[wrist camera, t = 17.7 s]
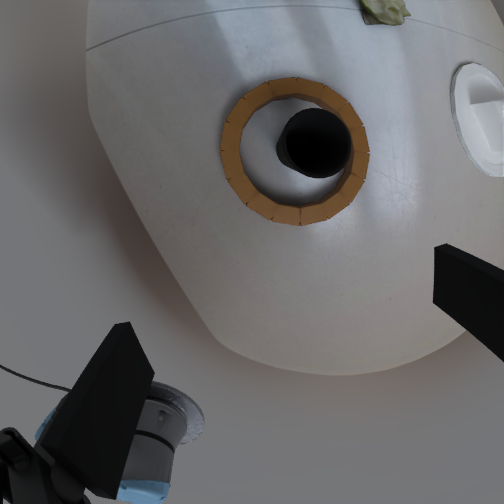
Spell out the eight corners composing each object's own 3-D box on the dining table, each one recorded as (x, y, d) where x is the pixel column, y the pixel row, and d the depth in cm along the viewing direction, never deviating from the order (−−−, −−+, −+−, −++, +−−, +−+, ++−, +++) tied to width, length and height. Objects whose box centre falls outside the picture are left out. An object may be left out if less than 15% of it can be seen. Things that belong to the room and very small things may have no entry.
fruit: (342, -3, 32) (357, -30, 24) (381, 1, 32) (398, -22, 24) (366, 31, 33) (386, 5, 25) (405, 34, 33) (426, 13, 25)
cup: (328, 139, 39) (361, 130, 27) (307, 184, 40) (334, 190, 29) (281, 116, 37) (299, 95, 26) (260, 162, 39) (270, 158, 28)
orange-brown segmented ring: (240, 235, 42) (241, 240, 39) (207, 98, 36) (205, 93, 33) (371, 206, 42) (379, 208, 39) (343, 77, 36) (350, 72, 33)
